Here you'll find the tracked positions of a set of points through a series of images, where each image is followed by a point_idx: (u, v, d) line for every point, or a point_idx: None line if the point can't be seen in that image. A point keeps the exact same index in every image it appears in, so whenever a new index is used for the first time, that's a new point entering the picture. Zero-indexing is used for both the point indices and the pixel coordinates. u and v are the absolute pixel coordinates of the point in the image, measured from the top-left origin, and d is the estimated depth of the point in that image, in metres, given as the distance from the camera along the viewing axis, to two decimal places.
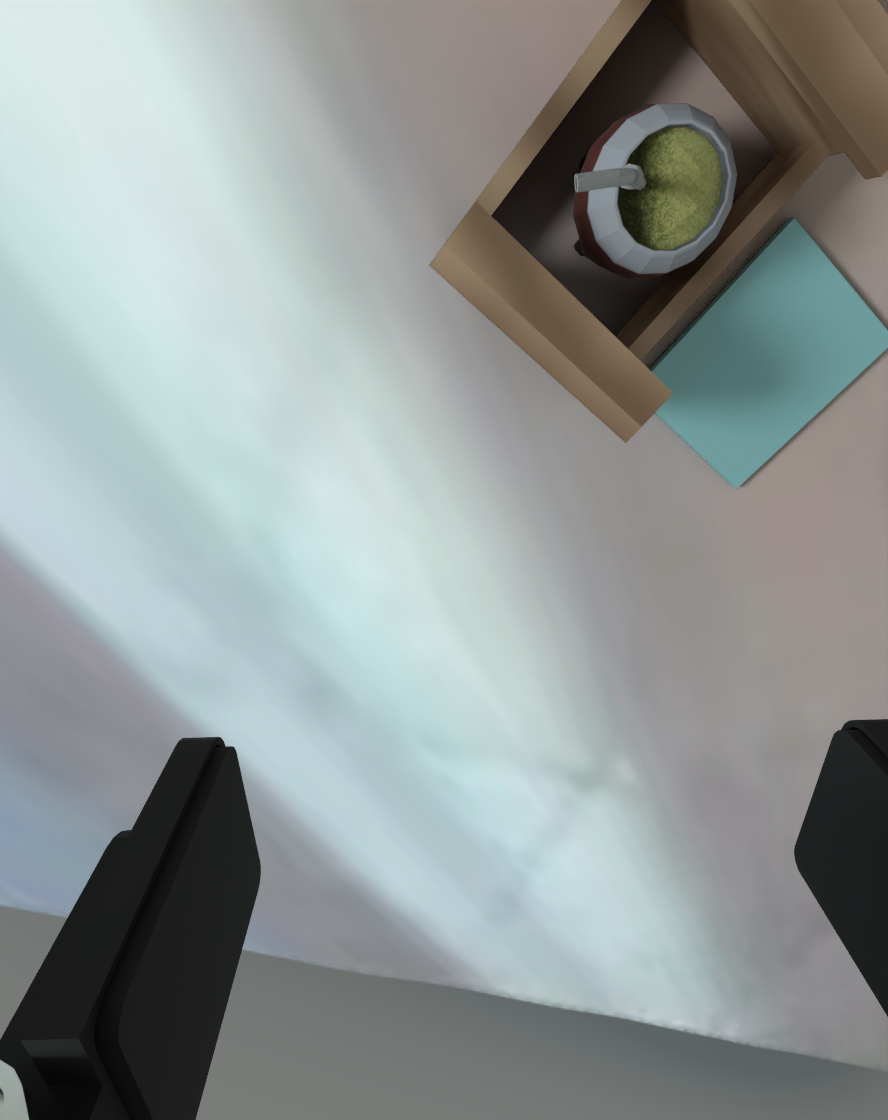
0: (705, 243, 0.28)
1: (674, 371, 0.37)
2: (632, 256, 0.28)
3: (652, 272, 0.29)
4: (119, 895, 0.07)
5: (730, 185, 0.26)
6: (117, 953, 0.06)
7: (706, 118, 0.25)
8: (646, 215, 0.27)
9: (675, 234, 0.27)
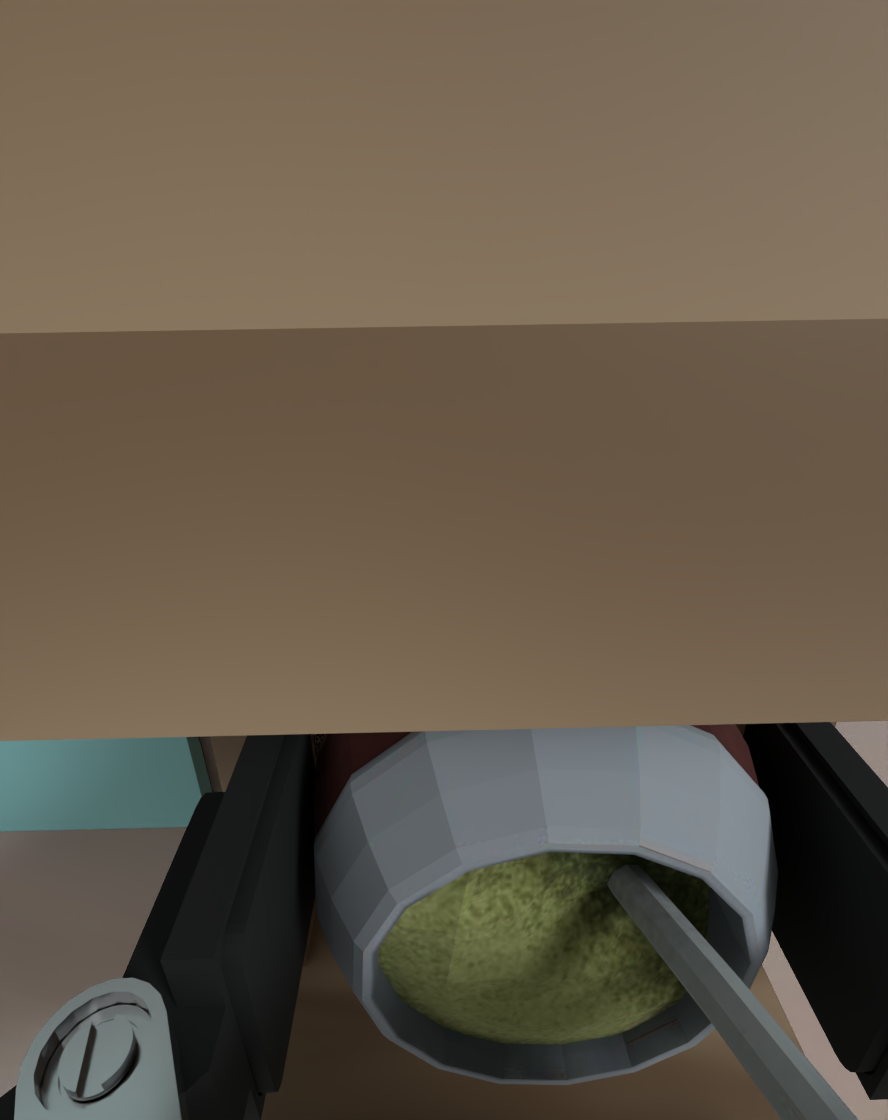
0: (332, 926, 0.08)
1: None
2: (510, 790, 0.07)
3: (391, 764, 0.08)
4: (226, 841, 0.07)
5: (415, 1054, 0.08)
6: (233, 890, 0.07)
7: None
8: (548, 857, 0.08)
9: (438, 904, 0.08)
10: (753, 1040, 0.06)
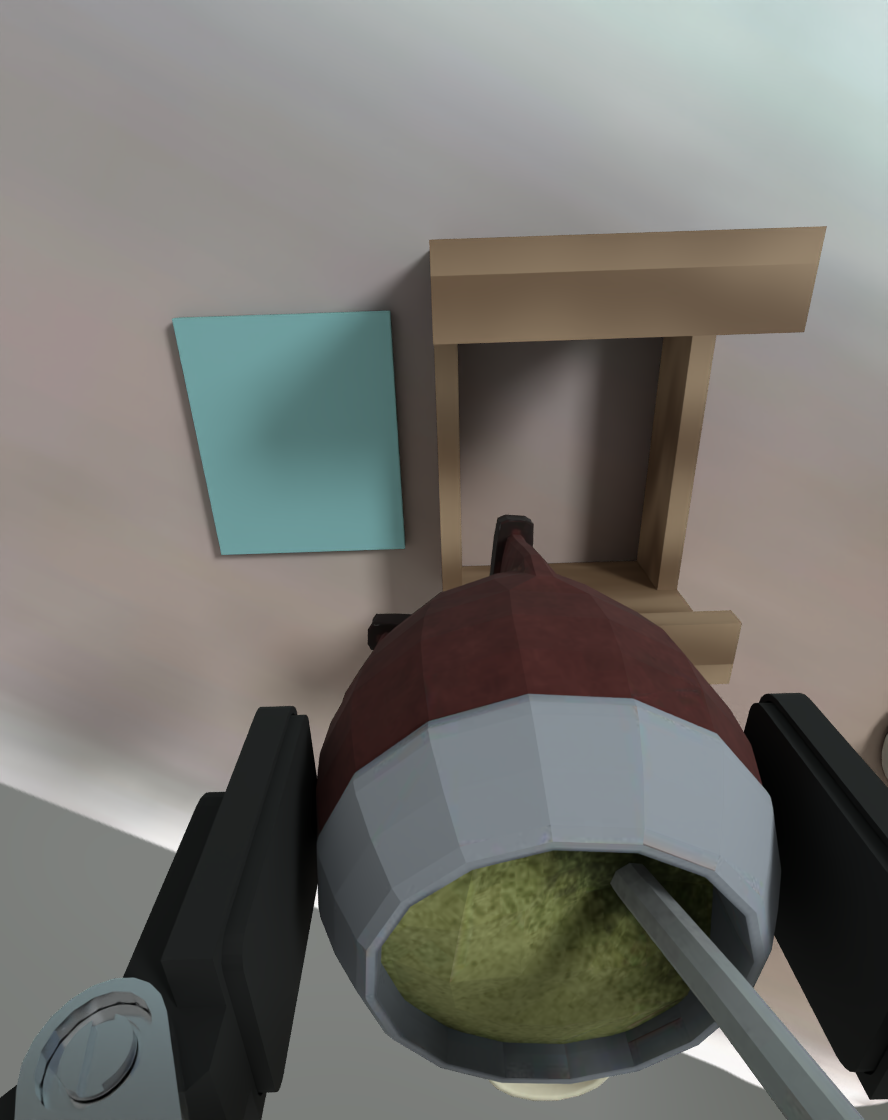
0: (335, 925, 0.08)
1: (370, 366, 0.29)
2: (514, 789, 0.07)
3: (394, 763, 0.08)
4: (227, 841, 0.07)
5: None
6: (234, 890, 0.07)
7: None
8: (552, 855, 0.08)
9: (441, 904, 0.08)
10: (757, 1039, 0.06)
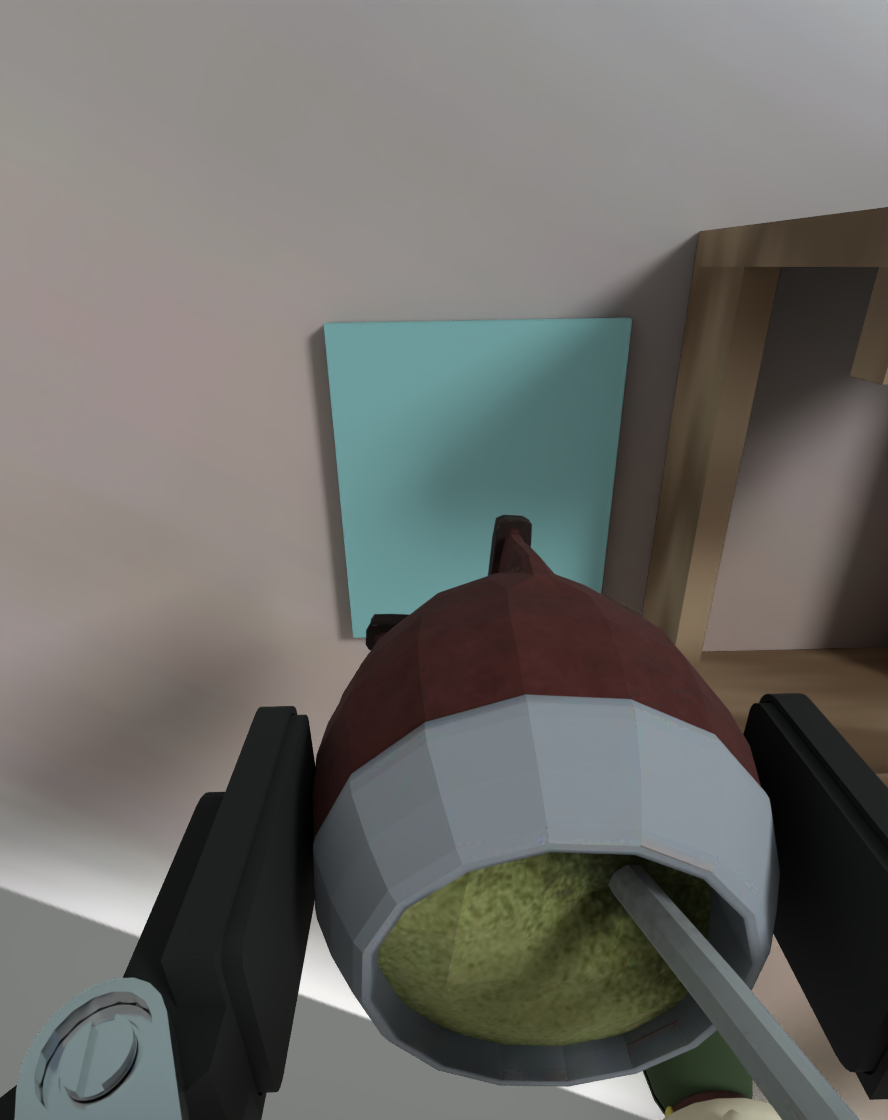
0: (332, 927, 0.08)
1: (592, 394, 0.21)
2: (510, 790, 0.07)
3: (390, 764, 0.08)
4: (227, 841, 0.07)
5: (415, 1056, 0.08)
6: (234, 890, 0.07)
7: None
8: (549, 856, 0.08)
9: (439, 905, 0.07)
10: (755, 1042, 0.06)
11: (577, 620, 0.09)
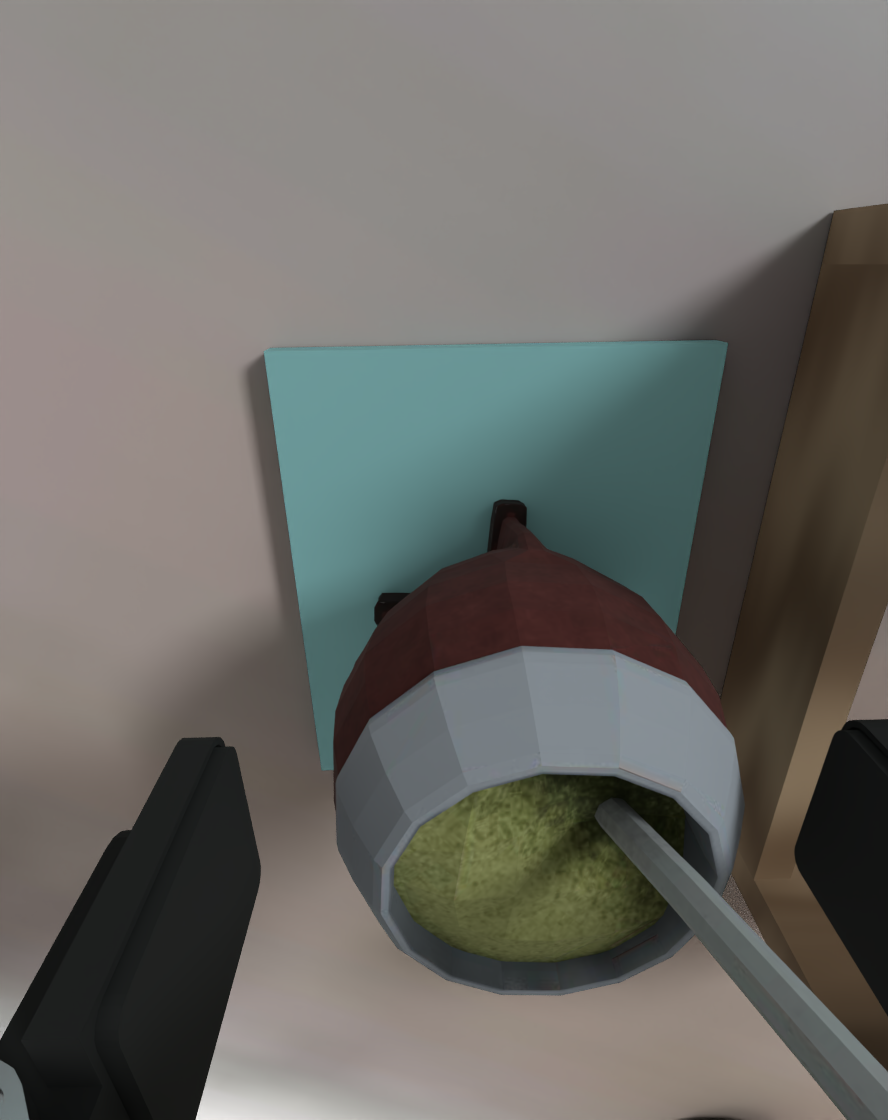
0: (354, 852, 0.09)
1: (662, 452, 0.14)
2: (508, 723, 0.08)
3: (405, 707, 0.09)
4: (119, 895, 0.07)
5: None
6: (117, 953, 0.06)
7: None
8: (542, 789, 0.09)
9: (446, 829, 0.09)
10: (713, 922, 0.07)
11: (566, 586, 0.10)
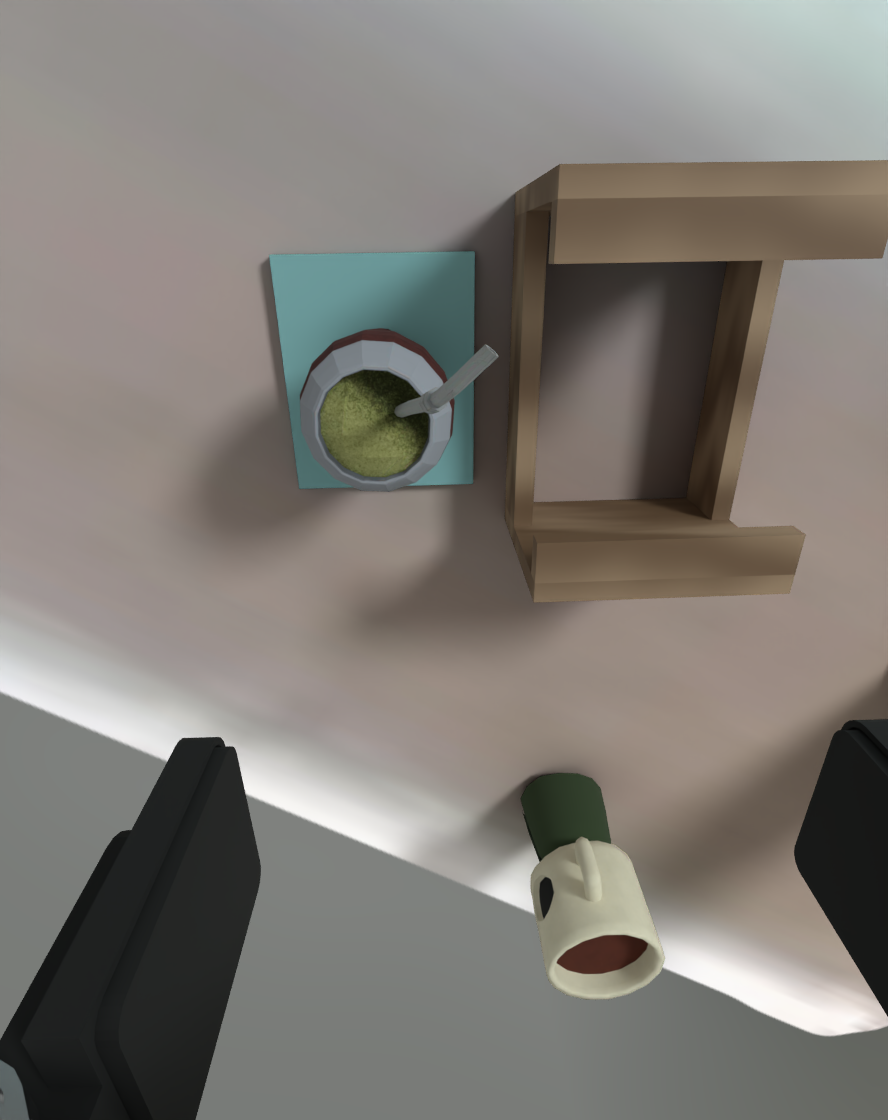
0: (306, 419, 0.26)
1: (453, 304, 0.31)
2: (354, 357, 0.25)
3: (322, 362, 0.25)
4: (119, 895, 0.07)
5: (334, 468, 0.26)
6: (117, 954, 0.06)
7: (395, 486, 0.27)
8: (372, 396, 0.26)
9: (337, 404, 0.25)
10: (409, 401, 0.24)
11: (385, 331, 0.26)
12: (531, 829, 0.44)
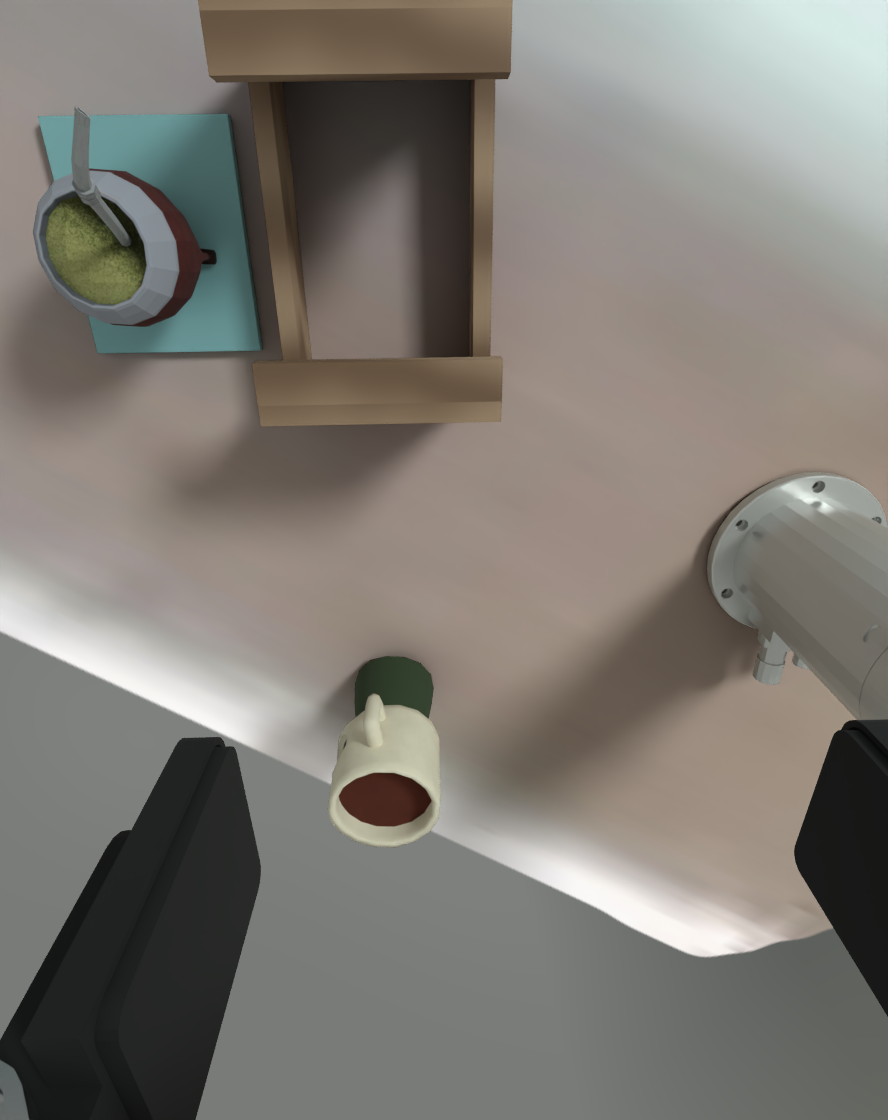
0: None
1: (215, 167, 0.33)
2: (67, 181, 0.27)
3: (46, 191, 0.28)
4: (119, 895, 0.07)
5: (64, 292, 0.29)
6: (117, 953, 0.06)
7: (129, 315, 0.30)
8: (95, 223, 0.28)
9: (59, 228, 0.28)
10: None
11: None
12: (355, 706, 0.46)
